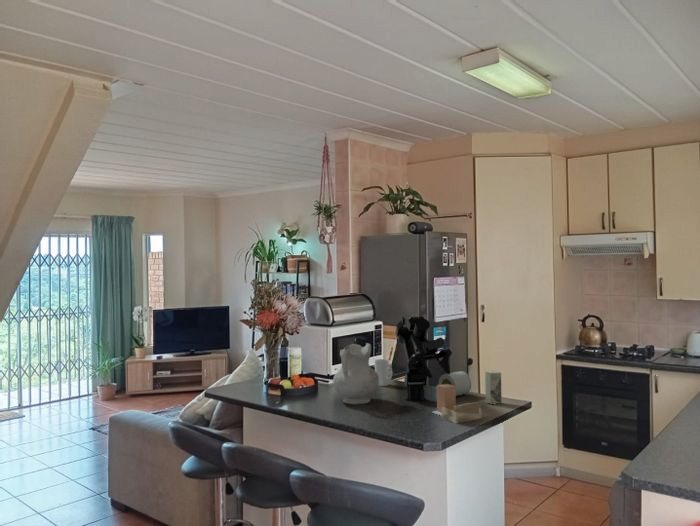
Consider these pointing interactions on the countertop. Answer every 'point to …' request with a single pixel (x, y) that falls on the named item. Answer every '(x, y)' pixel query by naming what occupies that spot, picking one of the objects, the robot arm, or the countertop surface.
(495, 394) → the box
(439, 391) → the brown rectangular block
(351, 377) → the ceramic pitcher
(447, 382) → the toilet paper
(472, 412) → the cubby
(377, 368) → the mug
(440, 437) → the countertop surface
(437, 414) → the mat
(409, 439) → the countertop surface
